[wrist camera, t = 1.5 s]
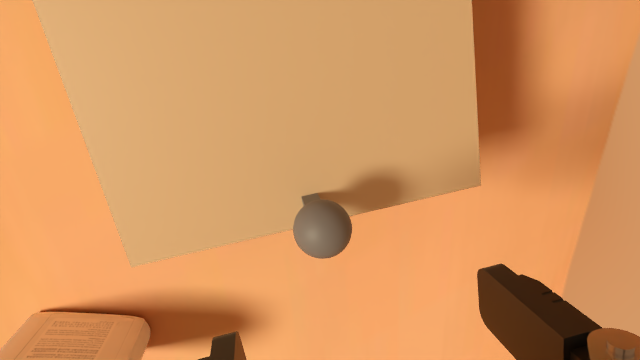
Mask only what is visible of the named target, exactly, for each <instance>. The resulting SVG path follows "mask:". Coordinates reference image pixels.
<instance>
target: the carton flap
mask: <svg viewBox="0 0 640 360" xmlns="http://www.w3.org/2000/svg"><path fill="white" fill-rule="evenodd" d="M32 1H33V3H34V6H35V9H36V11H37V14H38V17H39V19H40V22H41V25H42V28H43V30H44V33H45V36H46V38H47V41H48V44H49V46H50V49H51V52H52V55H53V57H54V60H55V63H56V65H57V68H58V71H59V74H60V76H61V79H62V82H63V84H64V87H65V90H66V92H67V95H68V98H69V101H70V103H71V106H72V109H73V111H74V114H75V117H76V119H77V122H78V125H79V128H80V130H81V133H82V136H83V138H84V141H85V144H86V147H87V149H88V152H89V155H90V157H91V160H92V163H93V165H94V168H95V171H96V174H97V176H98V179H99V182H100V184H101V187H102V190H103V192H104V195H105V198H106V201H107V203H108V206H109V209H110V211H111V214H112V217H113V220H114V222H115V225H116V228H117V230H118V233H119V236H120V238H121V241H122V244H123V247H124V249H125V252H126V255H127V257H128V260H129V263H130V265H131V267H135V266H139V265H144V264H148V263H152V262H156V261H161V260H165V259H169V258H173V257H178V256H182V255H186V254H191V253H195V252H199V251H203V250H208V249H212V248H216V247H220V246H225V245H229V244H233V243H238V242H242V241H246V240H250V239H255V238H259V237H263V236H267V235H272V234H276V233H280V232H284V231H289V230H293V233H294V238H295V240H296V243H297V244H298V246H299V247H300V248H301V249H302V251H304V252H305V253H306V254H308V255H310V256H312V257H315V258H330V257H333V256H336V255H337V254H339V253H340V252H342V251H343V250H344V249H345V247H346V246H347V244H348V243H349V241H350V238H351V233H352V224H351V220H350V217H349V216H353V215H357V214H361V213H366V212H370V211H374V210H378V209H383V208H387V207H391V206H395V205H400V204H404V203H408V202H413V201H417V200H421V199H425V198H430V197H434V196H438V195H442V194H447V193H451V192H455V191H459V190H464V189H468V188H472V187H477V186H481V175H480V155H479V134H478V114H477V94H476V74H475V54H474V34H473V14H472V0H32Z"/></svg>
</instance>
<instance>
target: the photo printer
mask: <svg viewBox="0 0 640 360" xmlns="http://www.w3.org/2000/svg"><path fill="white" fill-rule="evenodd" d="M149 339H150V327H149V325H148V324H147V322H146V321H145V319H143V318H140V317H135V316H127V315H114V314H96V313H76V312H39V313H35V314H33V315H31V316H30V317H29V318H28V319H27V320H26V322H25V323H24V324H23V325H22V326H21V327H20V328H19V329H18V330H17V332H16V333H15V334H14V335H13V336H12V337H11V338H10V339H9V340H8V342H7V343H6V344H5V345H4V346H3V347H2V348H1V349H0V360H141V359H142V357H143V354H144V352H145V349H146V347H147V344H148V341H149Z"/></svg>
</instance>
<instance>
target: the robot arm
mask: <svg viewBox="0 0 640 360" xmlns="http://www.w3.org/2000/svg"><path fill="white" fill-rule="evenodd" d="M477 278H478V295H479V310H480V314H481V317H482V319H483V321H484V323H485V325H486V326H487V328H488V329H489V330H490V331H491V332H492V333H493V334H494V335H495V337H496V338H497V339H498V340H499V341H500V342H501V343H502V344H503V345H504V346H505V348H506V349H507V350H508V351H509V352H510V353H511V354H512V355H513V356H514V357H515V359H516V360H640V337H639V336H637V335H635V334H633V333H630V332H628V331H624V330H620V329H614V328H602V327H600V326H599V325H598V324H596V323H595V322H594V321H592V320H591V319H589V318H588V317H587V316H586V315H584V314H582V313H581V312H580V311H579V310H577V309H576V308H575V307H573V306H572V305H571V304H569V303H568V302H567V301H563V299H562V298H561V297H560V296H559V295H557V294H556V293H553V292H552V290H550V289H549V288H548V287H546V286H545V285H544V284H542V283H541V282H540V281H537V280H535V279H532V278H530V277H527V276H525V275H517V274H515V273H514V272H513V271H512V270H510V269H509V268H508V267H506V266H505V265H503V264H498V265H494V266H490V267H486V268H482V269H479V270H478V274H477ZM198 360H246V356H245V353H244V349H243V346H242V342H241V339H240V336H239V333H238V332H233V333H229V334H225V335H221V336H217V337H214V338H213V340H212V347H211V354H210V356H209V357H205V358H202V359H198Z"/></svg>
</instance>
